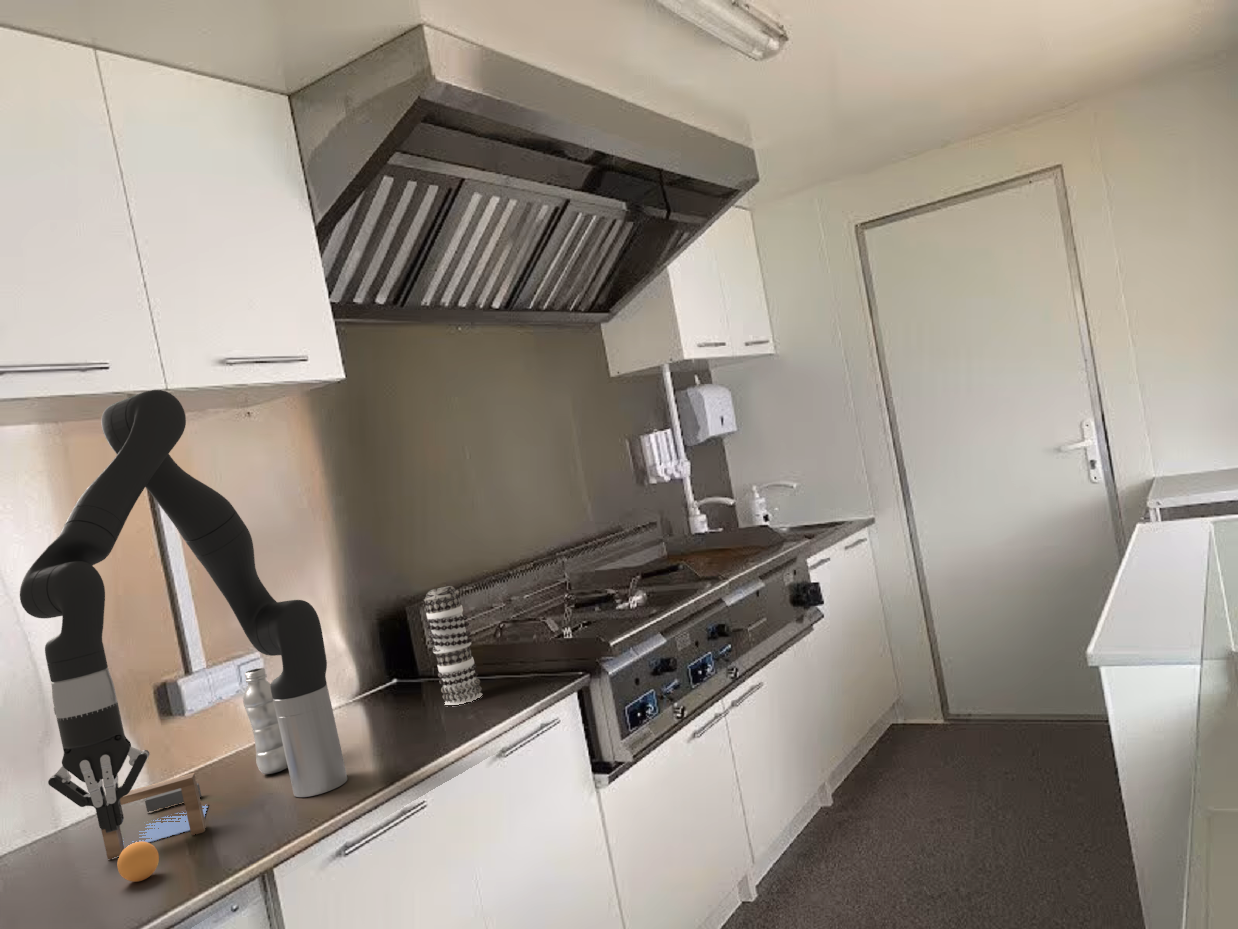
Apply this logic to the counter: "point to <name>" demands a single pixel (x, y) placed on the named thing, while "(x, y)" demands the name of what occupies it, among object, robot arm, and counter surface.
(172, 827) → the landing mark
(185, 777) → the bridge
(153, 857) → the ball
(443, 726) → the counter surface
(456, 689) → the decorative candle
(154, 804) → the strip
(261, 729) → the plastic bottle
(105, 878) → the counter surface
